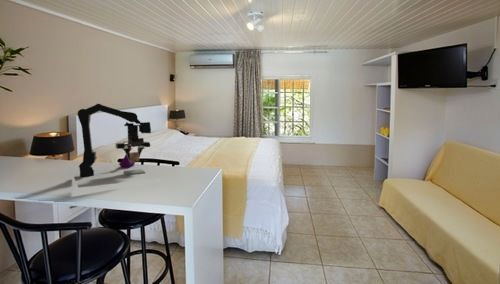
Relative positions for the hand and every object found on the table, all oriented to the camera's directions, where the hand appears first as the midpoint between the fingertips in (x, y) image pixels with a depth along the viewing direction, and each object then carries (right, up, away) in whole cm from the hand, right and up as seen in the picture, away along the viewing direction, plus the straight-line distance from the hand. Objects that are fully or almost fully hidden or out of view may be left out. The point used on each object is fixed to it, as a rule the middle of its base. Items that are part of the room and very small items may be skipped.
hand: (133, 159), depth 178 cm
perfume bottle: (-11, -7, +16) cm, 21 cm away
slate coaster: (0, -8, +1) cm, 8 cm away
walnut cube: (0, -1, 0) cm, 1 cm away
